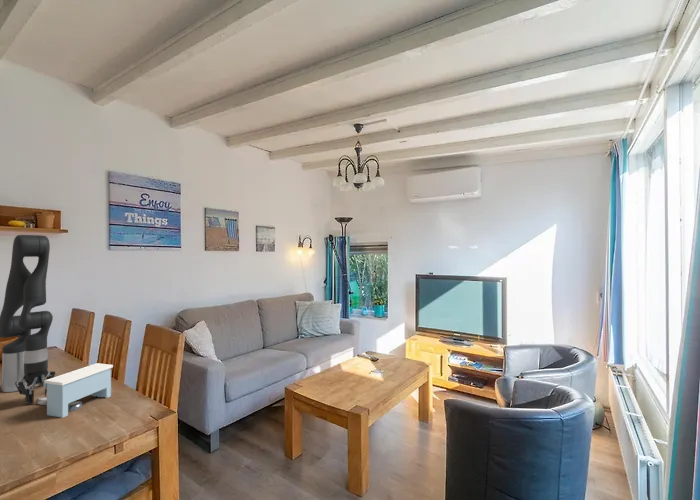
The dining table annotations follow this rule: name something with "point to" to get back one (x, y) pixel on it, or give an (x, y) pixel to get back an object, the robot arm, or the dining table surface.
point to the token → (74, 406)
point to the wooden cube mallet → (39, 396)
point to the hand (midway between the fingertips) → (36, 400)
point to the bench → (77, 387)
